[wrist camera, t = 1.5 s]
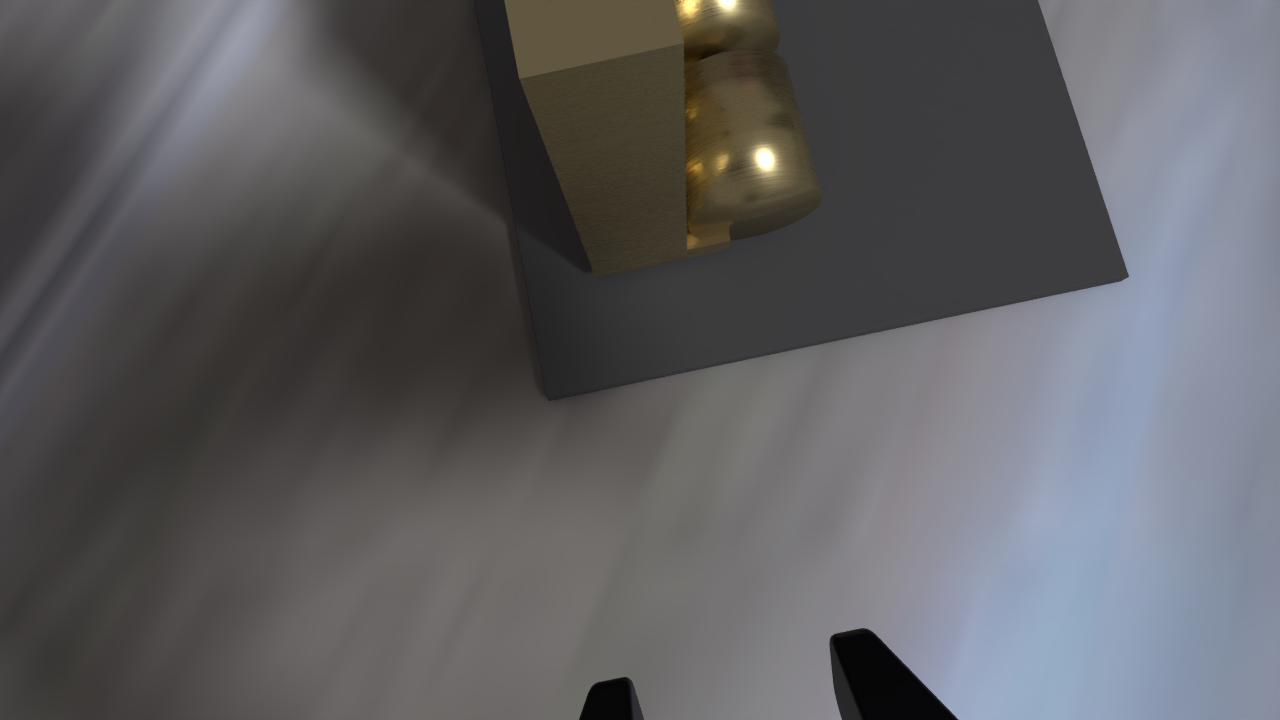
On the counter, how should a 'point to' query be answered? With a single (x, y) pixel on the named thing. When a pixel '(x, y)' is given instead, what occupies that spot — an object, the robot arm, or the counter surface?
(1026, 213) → the rubber mat
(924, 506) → the counter surface
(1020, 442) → the counter surface
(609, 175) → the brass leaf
